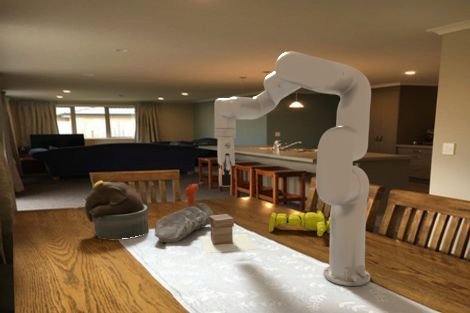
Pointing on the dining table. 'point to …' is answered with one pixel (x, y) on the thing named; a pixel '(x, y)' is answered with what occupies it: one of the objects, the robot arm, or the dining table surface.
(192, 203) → the toy drill
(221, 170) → the cylinder
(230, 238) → the slab bottom
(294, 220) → the toy
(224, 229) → the slab mid
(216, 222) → the slab top
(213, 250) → the board
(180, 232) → the decorative stone
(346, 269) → the robot arm
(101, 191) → the brown blob in bowl
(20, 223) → the dining table surface
